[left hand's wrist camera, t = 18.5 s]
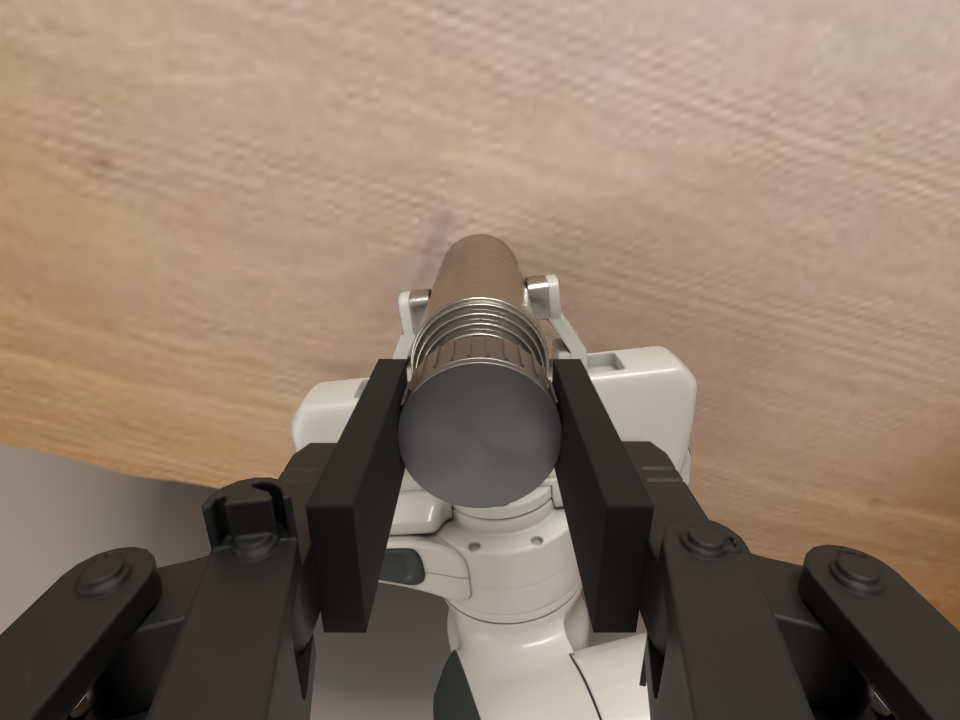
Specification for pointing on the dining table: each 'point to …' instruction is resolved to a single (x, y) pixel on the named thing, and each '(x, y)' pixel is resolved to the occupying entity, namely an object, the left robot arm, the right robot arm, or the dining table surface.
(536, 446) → the cap
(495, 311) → the bottle
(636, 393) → the right robot arm
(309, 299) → the dining table surface
